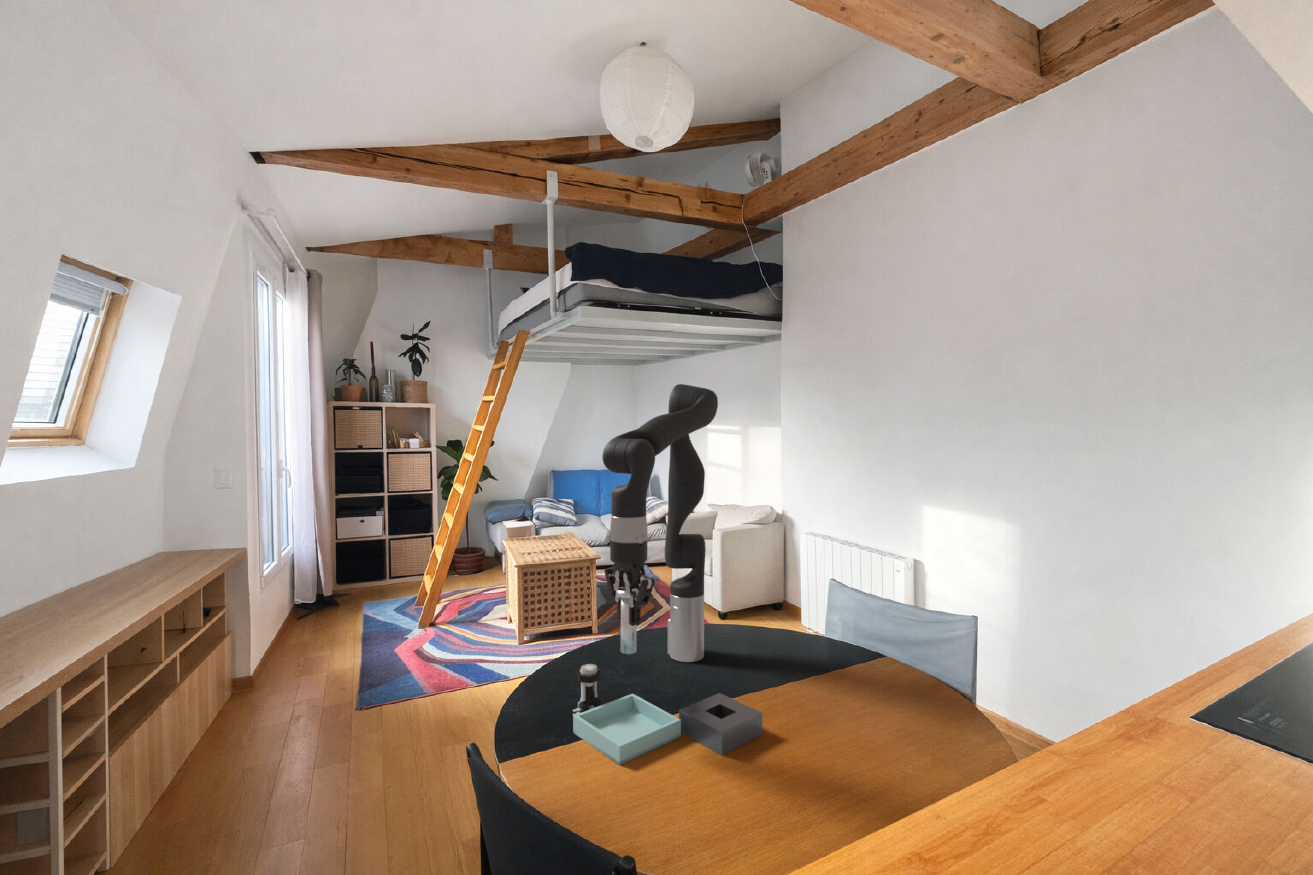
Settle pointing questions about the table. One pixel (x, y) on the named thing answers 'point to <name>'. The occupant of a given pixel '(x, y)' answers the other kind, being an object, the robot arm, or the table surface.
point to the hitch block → (720, 723)
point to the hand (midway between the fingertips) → (628, 621)
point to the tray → (626, 728)
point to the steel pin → (627, 624)
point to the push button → (588, 687)
